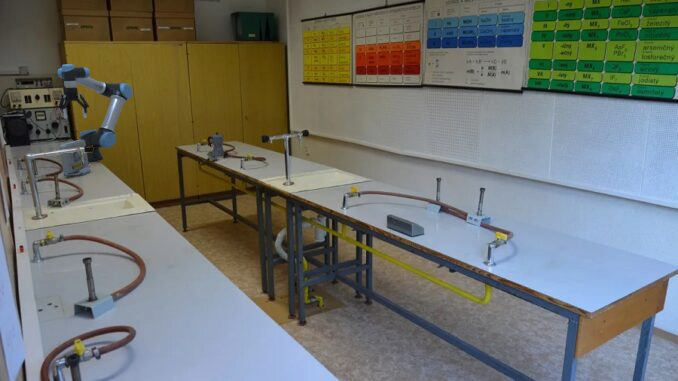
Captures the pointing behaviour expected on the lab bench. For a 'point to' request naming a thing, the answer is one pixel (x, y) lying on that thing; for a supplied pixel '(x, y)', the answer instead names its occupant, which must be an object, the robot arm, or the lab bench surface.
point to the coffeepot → (217, 144)
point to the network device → (73, 158)
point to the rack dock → (83, 170)
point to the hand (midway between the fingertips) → (75, 118)
